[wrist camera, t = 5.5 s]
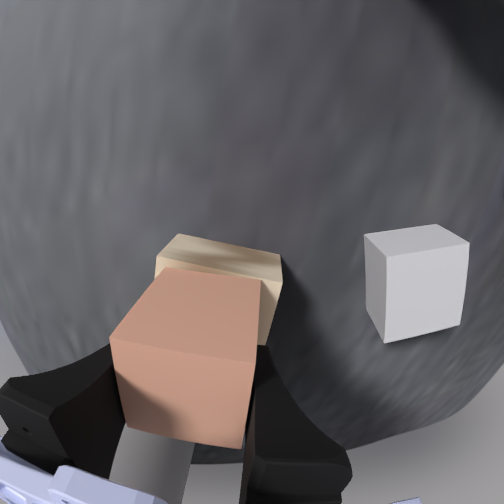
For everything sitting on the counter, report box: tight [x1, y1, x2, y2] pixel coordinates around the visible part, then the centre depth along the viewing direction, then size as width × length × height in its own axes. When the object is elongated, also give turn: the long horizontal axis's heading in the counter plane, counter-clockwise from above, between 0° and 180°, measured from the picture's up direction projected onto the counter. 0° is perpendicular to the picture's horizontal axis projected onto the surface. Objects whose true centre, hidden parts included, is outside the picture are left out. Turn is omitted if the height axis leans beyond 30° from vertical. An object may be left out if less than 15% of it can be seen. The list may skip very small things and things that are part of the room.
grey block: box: [364, 224, 469, 343], centre depth 16 cm, size 5×5×4 cm
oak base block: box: [155, 233, 283, 345], centre depth 17 cm, size 6×6×4 cm
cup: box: [109, 423, 195, 504], centre depth 18 cm, size 8×8×10 cm
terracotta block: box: [109, 267, 261, 449], centre depth 12 cm, size 4×4×6 cm
